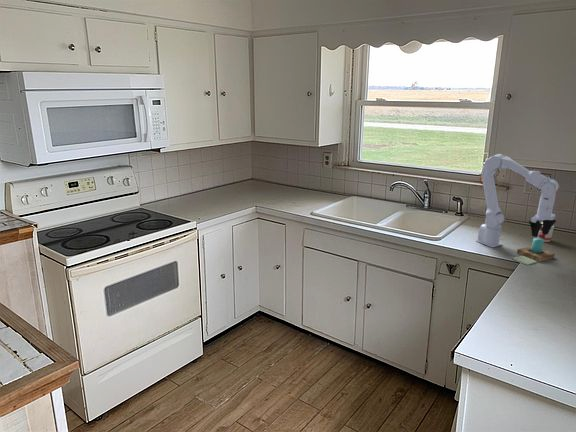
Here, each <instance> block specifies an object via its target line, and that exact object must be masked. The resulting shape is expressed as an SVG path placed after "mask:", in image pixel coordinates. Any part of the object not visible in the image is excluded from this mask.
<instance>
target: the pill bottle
mask: <svg viewBox="0 0 576 432" xmlns="http://www.w3.org/2000/svg"><path fill="white" fill-rule="evenodd" d="M540 223H541V224H543V221H541V222H540ZM554 228H555V224H553V226H552V227H551V229H550V231H549V233H548V234H547V235H546V234H543V233H542V229H543V225H542V227H541V228H540V230H539V233H538V236H537V237H536V238H541V239H543V240H544V243H547V242H548V243H550V242H551V240H552V239H553V238H552V237H553V233H554Z"/></svg>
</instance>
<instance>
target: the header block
mask: <svg viewBox="0 0 576 432" xmlns="http://www.w3.org/2000/svg"><path fill="white" fill-rule="evenodd" d="M531 247H532V245H529V246H525V247H521V248H517V252H516V253H517V254H519V255H520V254H521V255H520V256H525V257H528V258H530V259H533V260H535V261H537V263H538V262H543V261H547V260H550V259H551V260H552V259H554V258H555V255H556V253H554V252H551V251H548V250H546V249H544V248H542V252H541V254H535V253H532V252H531Z"/></svg>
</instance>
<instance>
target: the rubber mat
mask: <svg viewBox="0 0 576 432" xmlns="http://www.w3.org/2000/svg"><path fill="white" fill-rule="evenodd" d="M513 259H514V260H513ZM512 260H513V261H515V260H516V262H518V263H521V264H523V265H525V266H528V265H532V264H536V263H538V261H535V260H533V259H530V258H528V257H525V256H523V255H520V256H515V257H513V258H512Z"/></svg>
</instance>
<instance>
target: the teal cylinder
mask: <svg viewBox="0 0 576 432" xmlns="http://www.w3.org/2000/svg"><path fill="white" fill-rule="evenodd" d="M544 243H545V242H544V240H543V239H541V238H537V237H533V238H532V243H531V246H532V247H531V252H532V253H535V254H541V252H542V249H544V248H543V247H544Z"/></svg>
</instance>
